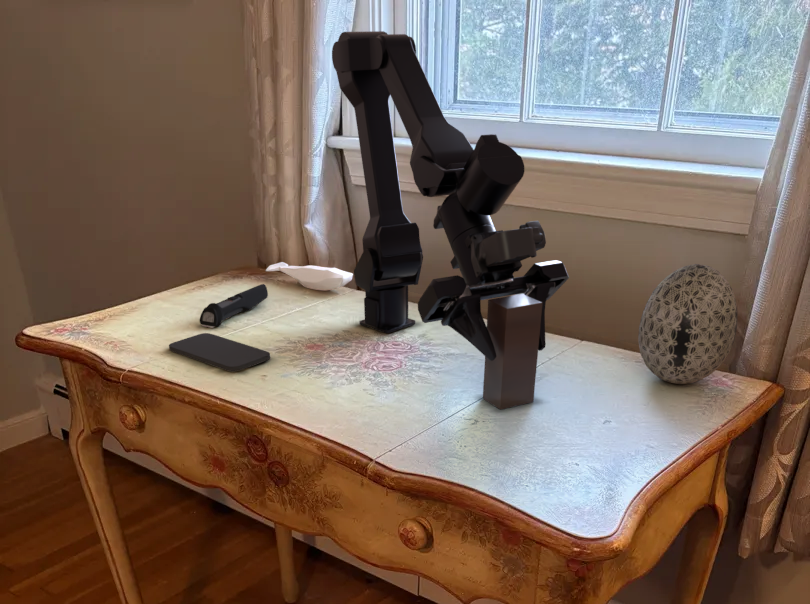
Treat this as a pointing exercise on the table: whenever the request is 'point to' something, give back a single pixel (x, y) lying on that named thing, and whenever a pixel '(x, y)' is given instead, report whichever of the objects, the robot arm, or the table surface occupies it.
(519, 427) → the table surface
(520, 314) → the walnut block
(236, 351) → the phone
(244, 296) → the electric trimmer
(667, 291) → the decorative egg
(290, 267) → the white fish figurine
